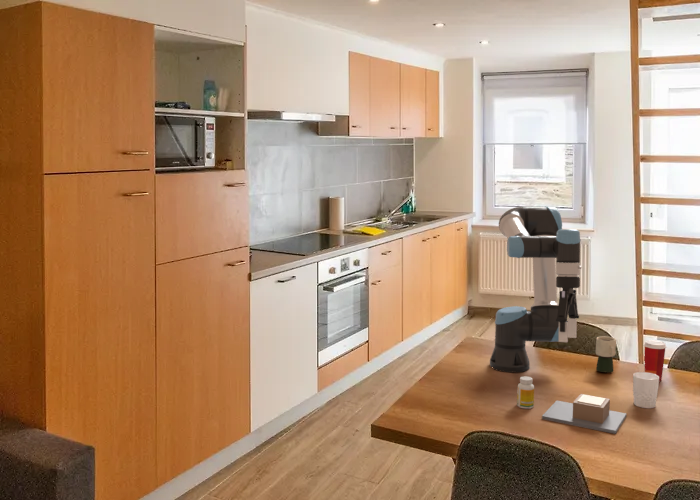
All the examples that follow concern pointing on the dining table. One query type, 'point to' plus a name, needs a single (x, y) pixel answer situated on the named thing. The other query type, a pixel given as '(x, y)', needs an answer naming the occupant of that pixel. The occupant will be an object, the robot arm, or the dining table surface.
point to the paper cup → (654, 357)
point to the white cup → (645, 389)
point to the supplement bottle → (525, 393)
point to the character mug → (605, 353)
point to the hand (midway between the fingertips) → (567, 339)
